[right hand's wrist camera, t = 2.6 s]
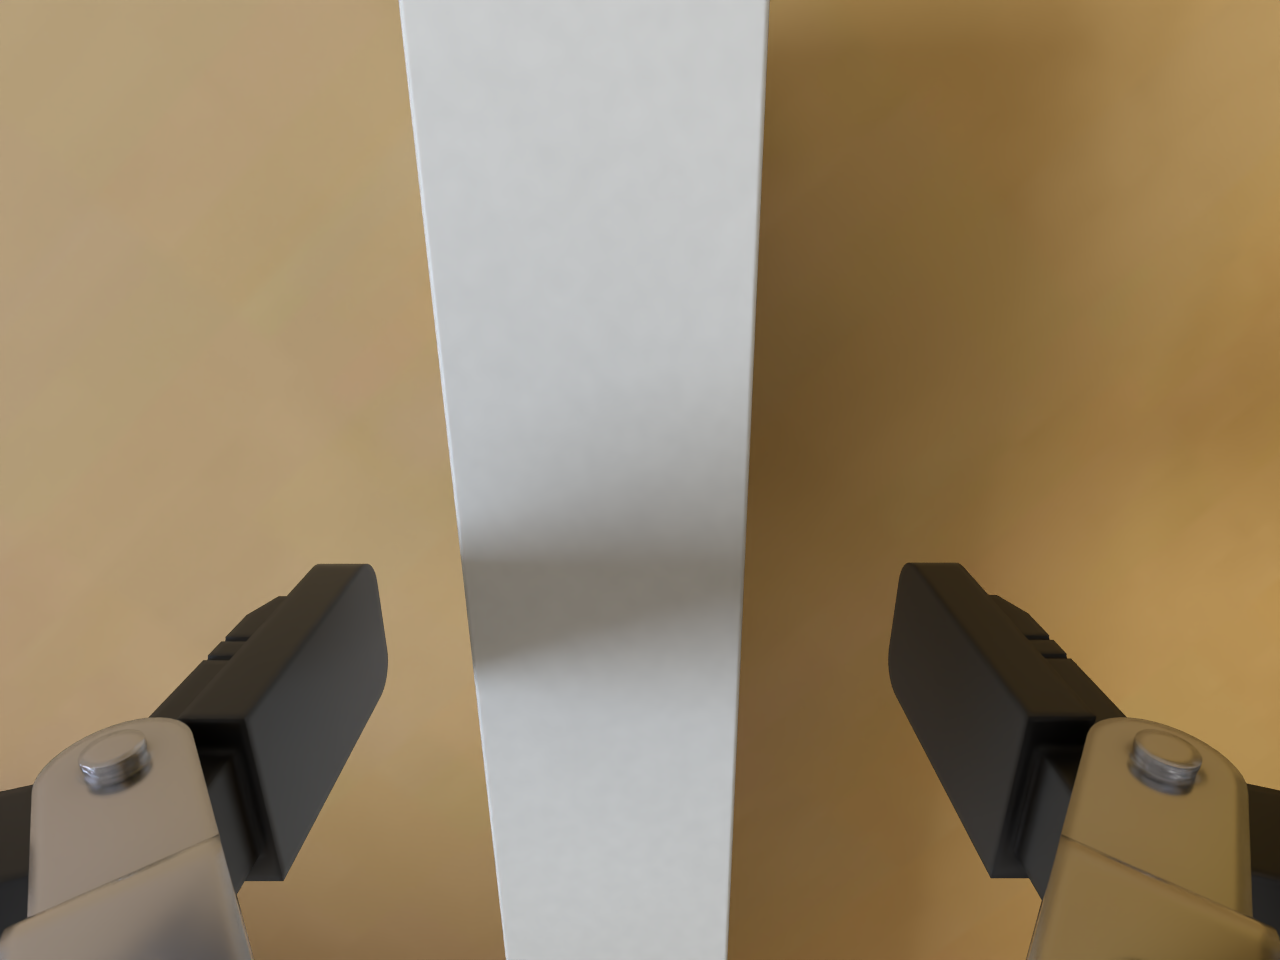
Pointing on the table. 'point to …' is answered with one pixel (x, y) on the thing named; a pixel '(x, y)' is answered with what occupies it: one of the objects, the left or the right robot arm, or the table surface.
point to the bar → (599, 439)
